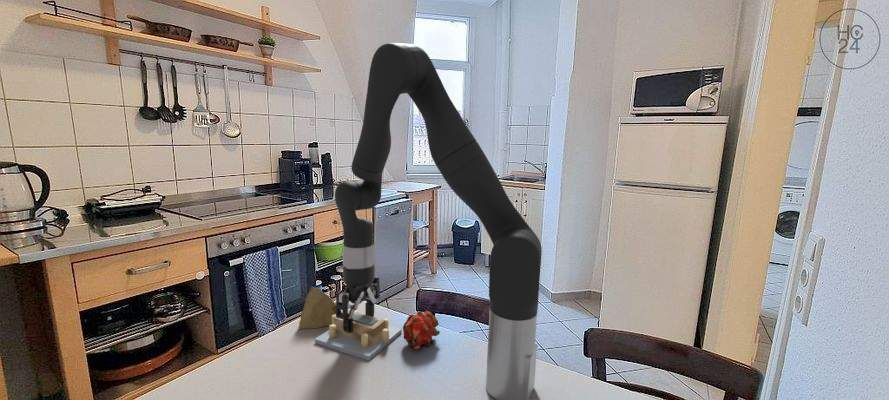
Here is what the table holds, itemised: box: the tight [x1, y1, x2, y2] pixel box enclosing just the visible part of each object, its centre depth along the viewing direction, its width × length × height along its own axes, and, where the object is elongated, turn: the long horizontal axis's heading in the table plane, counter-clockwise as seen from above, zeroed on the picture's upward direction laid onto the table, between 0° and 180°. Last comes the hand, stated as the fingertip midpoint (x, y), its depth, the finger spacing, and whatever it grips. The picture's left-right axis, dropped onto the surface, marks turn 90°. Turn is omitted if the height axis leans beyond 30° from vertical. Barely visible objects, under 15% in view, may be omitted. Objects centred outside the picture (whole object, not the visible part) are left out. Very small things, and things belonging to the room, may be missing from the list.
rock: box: [297, 286, 342, 330], centre depth 101 cm, size 11×9×10 cm
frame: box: [334, 309, 385, 345], centre depth 95 cm, size 12×5×4 cm, turn 65°
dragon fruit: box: [402, 310, 441, 351], centre depth 93 cm, size 8×8×12 cm
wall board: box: [314, 309, 403, 361], centre depth 96 cm, size 17×14×4 cm
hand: (359, 324), depth 95 cm, fingers open, 8 cm apart
